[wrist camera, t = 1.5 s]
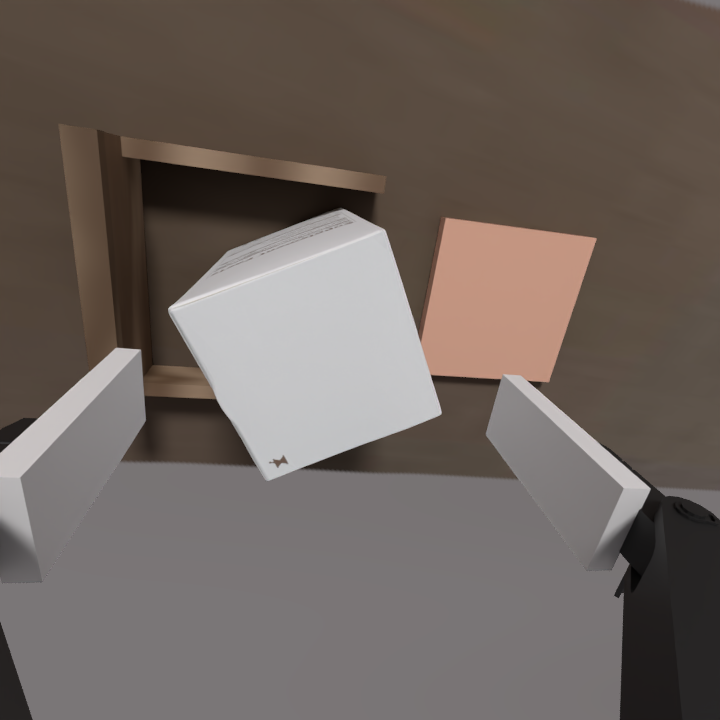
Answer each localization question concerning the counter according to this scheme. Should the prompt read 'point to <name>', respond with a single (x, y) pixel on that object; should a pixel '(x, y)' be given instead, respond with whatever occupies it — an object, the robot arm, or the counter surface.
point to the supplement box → (309, 342)
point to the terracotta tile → (500, 299)
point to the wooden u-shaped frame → (127, 238)
